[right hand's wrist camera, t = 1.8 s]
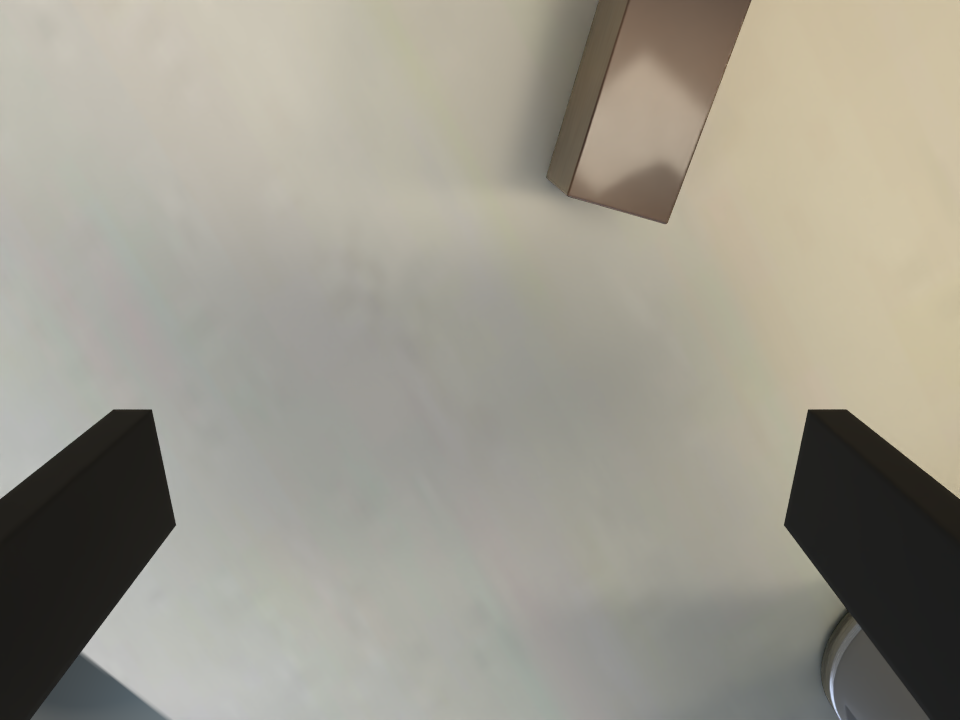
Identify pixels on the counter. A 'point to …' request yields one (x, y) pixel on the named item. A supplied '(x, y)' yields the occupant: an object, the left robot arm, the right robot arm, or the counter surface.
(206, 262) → the counter surface
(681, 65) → the plank
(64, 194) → the counter surface
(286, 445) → the counter surface
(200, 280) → the counter surface
